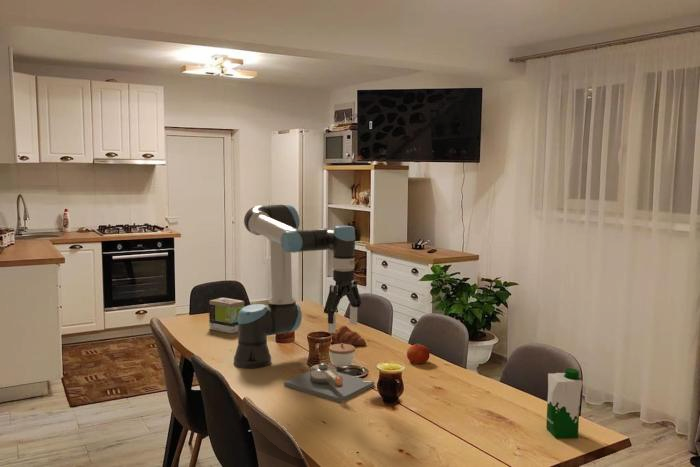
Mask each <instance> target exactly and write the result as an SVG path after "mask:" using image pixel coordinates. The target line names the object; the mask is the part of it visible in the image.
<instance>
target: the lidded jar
mask: <svg viewBox="0 0 700 467" xmlns="http://www.w3.org/2000/svg"><path fill="white" fill-rule="evenodd" d="M355 354H356V346H352V345H349V344H343V343H341V344H331V345H329V347H328V355H329V356H328V357H329V359H330V363H331V365H332V366H334V367H336V368H337V367H342V366H349V367H350V365H351V364H352V363H353V362H354V359H355Z"/></svg>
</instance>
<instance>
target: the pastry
mask: <svg viewBox="0 0 700 467" xmlns="http://www.w3.org/2000/svg"><path fill="white" fill-rule="evenodd" d="M328 333H331V332H328ZM331 335H332V343H331V345H334V344H341V343H343V344H349V345H352V346H354V347H363V346H367V342H366V340H365V339H364V338H363V337H362V336H361V335H360V334H359V333H358V332H356V331H352V330H351V329H350V327H348V326H346V325H342V326H340V327H339V328H338V329H337V328H336V333H331Z"/></svg>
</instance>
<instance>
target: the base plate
mask: <svg viewBox="0 0 700 467" xmlns="http://www.w3.org/2000/svg"><path fill="white" fill-rule="evenodd" d="M337 376H341V377H343V387H341V389H338V390H336V389H335V388H334V387H333V386H331V385H330V384H317V383H313V382H311V381H310V370H308V372H307V371H306V372H305V373H303V374H300V375H298V376H294V377H293V378H290V379H288V380H285V381H284V382H283V384H284V385H283V386H285V387H288V388H291V389H293V390H294V389H295V390H297V391H300V392H303V393H307V394H311V395H312V396H313V395H314V396H317V397H321V398H324V399H327V400H329V401H333V402H337V403H343V402H346V401H347V400H349V399H350V398H352V397H353V398H354V396H356V395H358V394H360V393H363V392H364V391H366V390H368V389H371V388H372V387H375V381H373V380H370V379H365V378H361V377H358V376H355V375H351V374H346V373H342V372H340V371H337Z"/></svg>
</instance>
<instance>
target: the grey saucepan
mask: <svg viewBox="0 0 700 467" xmlns="http://www.w3.org/2000/svg"><path fill="white" fill-rule="evenodd" d="M337 370H338V368H337V367H335V366H334V365H333V364H329V363H327V362H320V363H319V364H315V365H312V366H311V367H310V368H309V371H310V381H311V382H313V383H317V384H330V385H331V386H333V387H334V388H335V389H336V390H338V389H341V387H343V377H341V376H337V372H338V371H337Z"/></svg>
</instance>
